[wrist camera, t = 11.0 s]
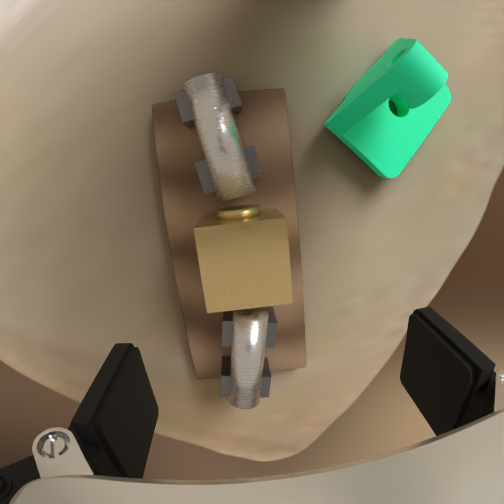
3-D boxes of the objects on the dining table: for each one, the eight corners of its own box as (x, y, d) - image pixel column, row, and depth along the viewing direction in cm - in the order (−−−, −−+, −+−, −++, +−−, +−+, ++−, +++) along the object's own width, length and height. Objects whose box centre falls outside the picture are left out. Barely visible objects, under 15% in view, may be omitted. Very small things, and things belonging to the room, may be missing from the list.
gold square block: (201, 208, 26) (192, 219, 20) (274, 199, 26) (285, 208, 21) (213, 290, 28) (208, 320, 22) (281, 282, 28) (293, 310, 22)
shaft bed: (156, 107, 25) (151, 104, 24) (281, 92, 25) (283, 88, 24) (198, 370, 32) (197, 379, 30) (303, 358, 32) (306, 366, 31)
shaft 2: (223, 295, 28) (222, 319, 24) (273, 298, 29) (280, 321, 24) (221, 377, 30) (220, 408, 26) (265, 379, 31) (269, 409, 26)
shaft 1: (180, 99, 24) (169, 85, 19) (231, 83, 24) (231, 66, 19) (210, 200, 26) (205, 207, 22) (262, 185, 26) (268, 188, 21)
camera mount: (379, 181, 28) (442, 190, 18) (319, 126, 27) (363, 106, 17) (439, 99, 26) (506, 84, 16) (388, 46, 25) (444, 9, 15)
